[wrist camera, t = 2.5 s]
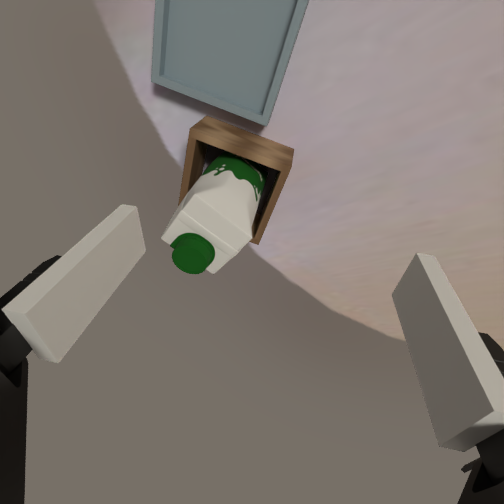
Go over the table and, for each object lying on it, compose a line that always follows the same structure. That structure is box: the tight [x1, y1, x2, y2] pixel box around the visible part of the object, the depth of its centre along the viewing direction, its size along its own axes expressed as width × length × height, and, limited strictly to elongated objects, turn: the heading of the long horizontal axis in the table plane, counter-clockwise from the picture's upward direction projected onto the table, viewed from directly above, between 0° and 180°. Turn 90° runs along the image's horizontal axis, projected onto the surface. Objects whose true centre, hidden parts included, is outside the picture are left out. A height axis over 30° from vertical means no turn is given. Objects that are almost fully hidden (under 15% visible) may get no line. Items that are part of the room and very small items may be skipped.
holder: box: [178, 116, 294, 245], centre depth 41 cm, size 14×14×7 cm
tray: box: [151, 0, 309, 126], centre depth 32 cm, size 16×16×2 cm
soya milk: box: [161, 150, 268, 274], centre depth 36 cm, size 9×9×20 cm
